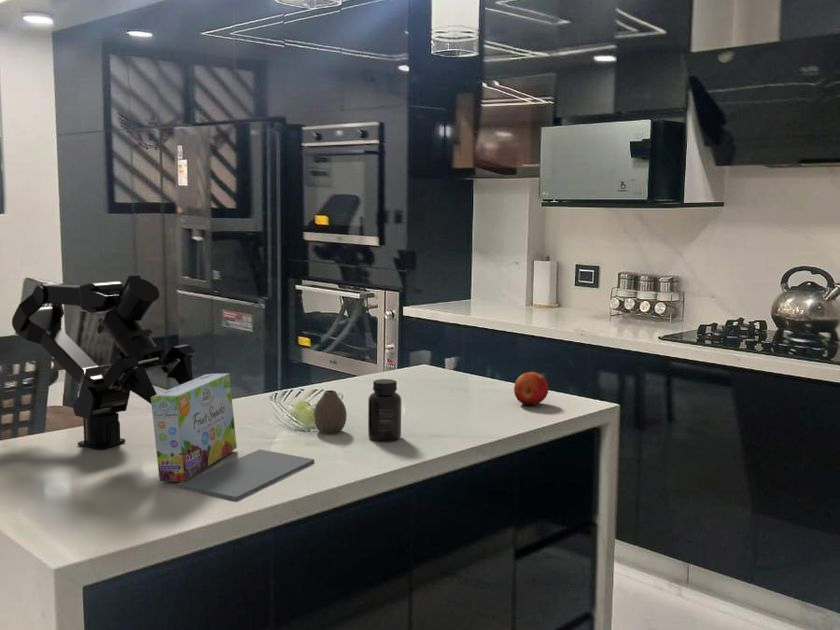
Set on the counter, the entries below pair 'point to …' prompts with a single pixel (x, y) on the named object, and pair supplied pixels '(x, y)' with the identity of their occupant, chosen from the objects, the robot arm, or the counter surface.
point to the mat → (245, 474)
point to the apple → (530, 388)
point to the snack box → (193, 426)
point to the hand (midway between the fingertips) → (176, 400)
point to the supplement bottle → (384, 411)
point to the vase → (330, 413)
